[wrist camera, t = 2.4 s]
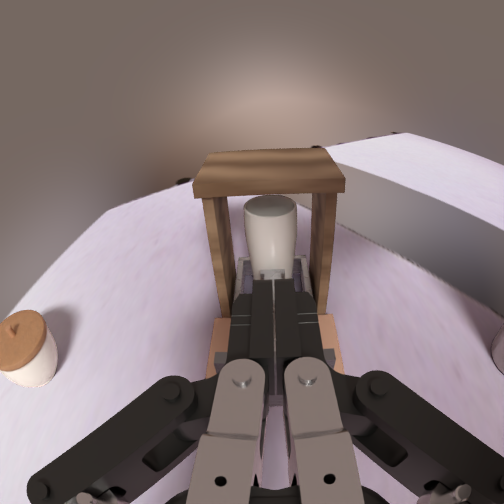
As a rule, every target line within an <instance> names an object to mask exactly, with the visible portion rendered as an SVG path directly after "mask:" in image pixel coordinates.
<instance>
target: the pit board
mask: <svg viewBox="0 0 504 504" xmlns="http://www.w3.org/2000/svg"><path fill="white" fill-rule="evenodd" d="M318 320H319V326H320V333H321V339H322V345H323V349H329V348H334V351H335V357H336V362H335V366H334V370H335V371H336V372H338V373H341V374H344V375H345V373H344V368H343V363H342V357H341V352H340V347H339V342H338V337H337V332H336V327H335V323H334V318H333V314H324V315H318ZM230 323H231V318H215V320H214V327H213V333H212V339H211V345H210V352H209V358H208V365H207V371H206V378H205V379H207V378H210V377H212V376H214V375H216V374H217V373H216V370H215V366H214V357H215V352H227V350H228V341H229V332H230Z"/></svg>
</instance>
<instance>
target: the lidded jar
mask: <svg viewBox="0 0 504 504" xmlns="http://www.w3.org/2000/svg"><path fill="white" fill-rule="evenodd" d="M57 361H58V351H57V346H56V343H55V340H54V338H53V336H52V333H51V332H50V330H49V328H48V327H47V325H46V322H45V321H44V319H43V317H42V316H41V315H40V314H39V313H38V312H36V311H33V310H23V311H19V312H16V313H14V314H12V315H11V316H9V317H8V318H6V319H5V320H4V321H3V322H2V323H1V324H0V372H1V373H2V374H3V375H4V376H5V377H6V378H8V379H9V380H10V381H12V382H13V383H15V384H17V385H19V386H22V387H28V388H32V387H42V386H44V385H46V384H47V383H49V382H50V381H51V379H52V378H53V377H54V375H55V372H56V368H57Z"/></svg>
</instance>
